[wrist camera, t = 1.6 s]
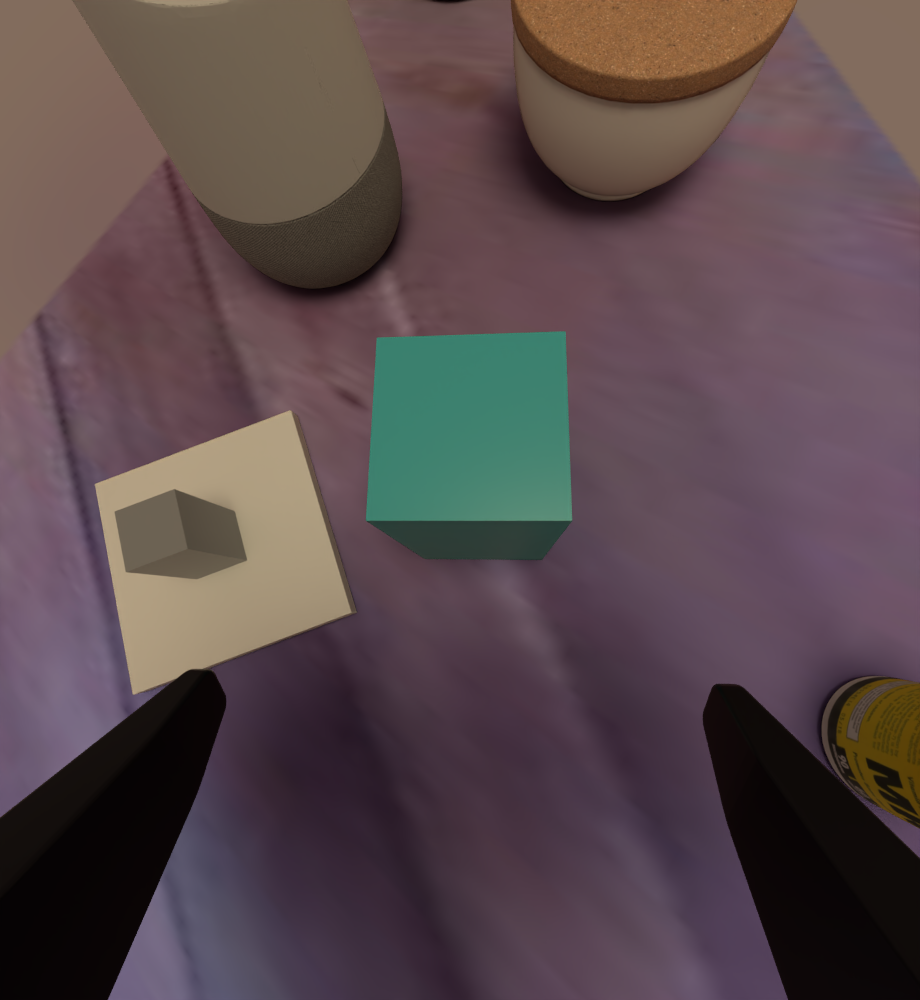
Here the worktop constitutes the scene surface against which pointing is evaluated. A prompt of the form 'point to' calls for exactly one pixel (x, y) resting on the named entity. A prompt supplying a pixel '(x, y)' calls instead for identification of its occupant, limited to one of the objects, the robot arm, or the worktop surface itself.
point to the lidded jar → (635, 83)
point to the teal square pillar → (471, 444)
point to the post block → (220, 552)
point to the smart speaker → (266, 125)
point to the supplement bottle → (877, 742)
